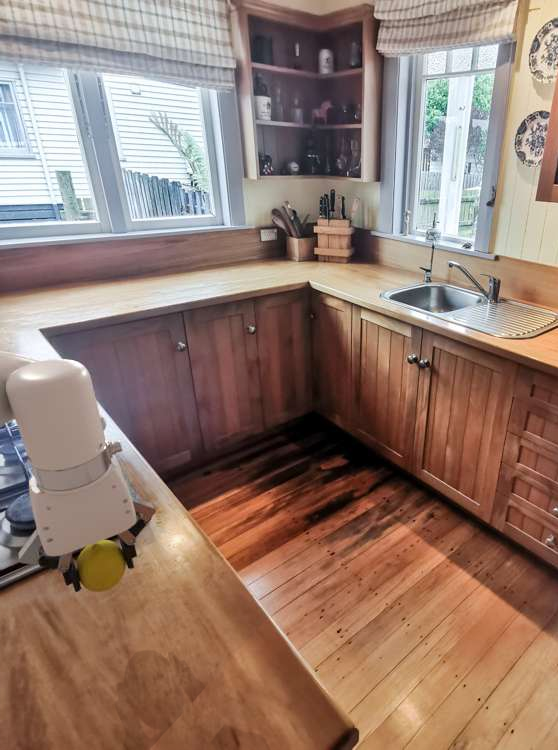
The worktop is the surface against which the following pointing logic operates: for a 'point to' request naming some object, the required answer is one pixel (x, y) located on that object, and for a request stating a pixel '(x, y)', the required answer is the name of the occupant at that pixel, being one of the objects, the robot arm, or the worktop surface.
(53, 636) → the worktop surface
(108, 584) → the lemon
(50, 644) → the worktop surface
